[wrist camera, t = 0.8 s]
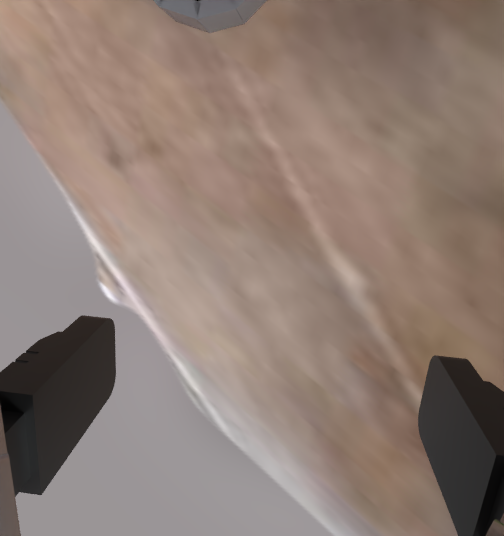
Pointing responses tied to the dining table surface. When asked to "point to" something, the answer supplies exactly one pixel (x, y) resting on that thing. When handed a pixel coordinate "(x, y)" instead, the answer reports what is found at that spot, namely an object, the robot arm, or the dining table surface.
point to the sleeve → (210, 12)
